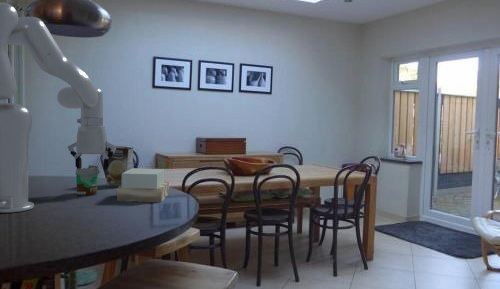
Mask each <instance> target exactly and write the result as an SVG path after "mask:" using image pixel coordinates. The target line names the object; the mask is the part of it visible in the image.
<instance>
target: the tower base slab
mask: <svg viewBox="0 0 500 289" xmlns="http://www.w3.org/2000/svg"><path fill="white" fill-rule="evenodd" d="M169 184H170V182H169V181H164V183H163V184H162V185H161V186H160V187H158V188H157V189H141V188H122V185H121V186H120V187H117V188H116V202H131V201H138V202H137V203H139V202H140V203H141V202H142V203H163V201H164V200H165V199H166V197H167V196H168V195H169V193H170V192H169V190H170V189H169V188H170V185H169Z"/></svg>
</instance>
